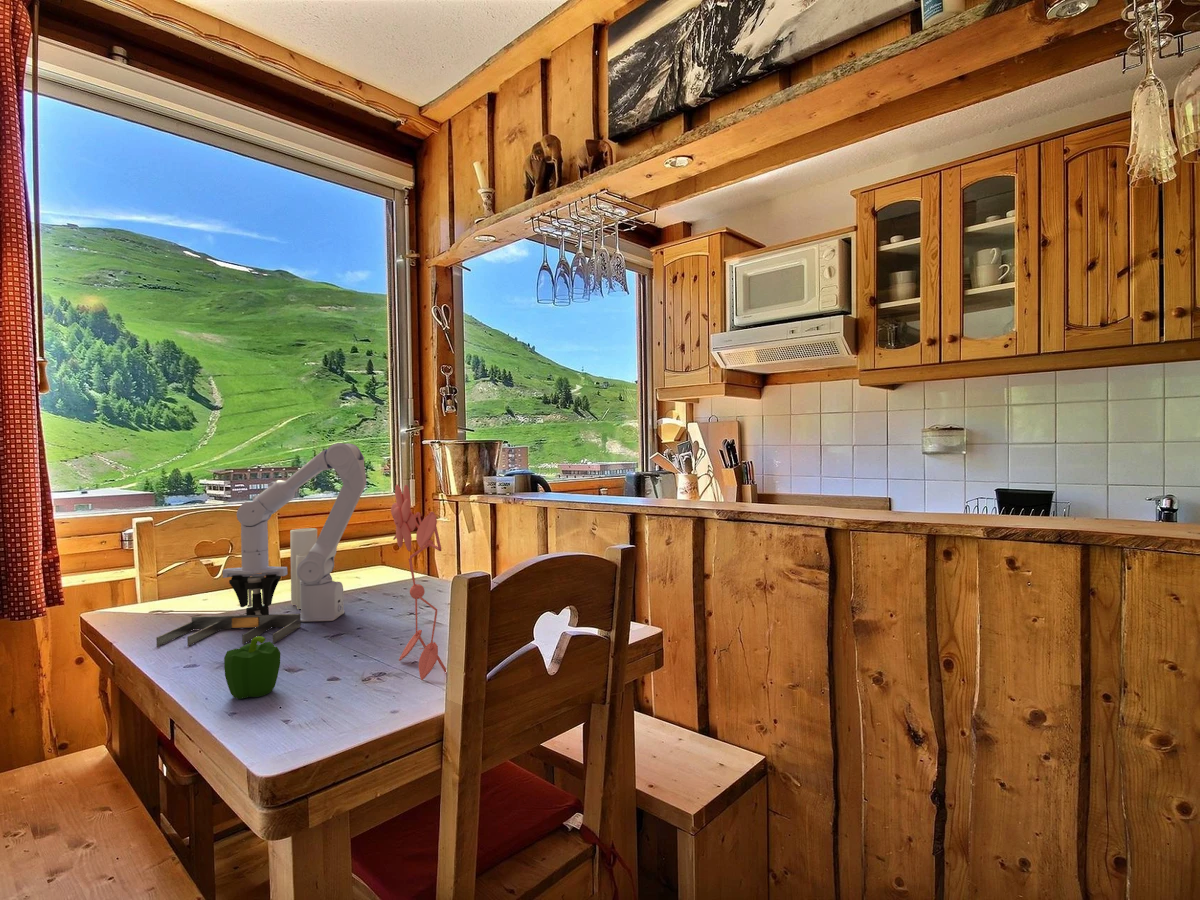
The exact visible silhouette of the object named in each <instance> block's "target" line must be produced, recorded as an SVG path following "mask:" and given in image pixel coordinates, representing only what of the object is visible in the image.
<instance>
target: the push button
mask: <svg viewBox="0 0 1200 900" xmlns="http://www.w3.org/2000/svg"><path fill="white" fill-rule="evenodd" d="M262 578H265V576H250V577H249V578H248V580H247V581H246V582H244V585H245V589H248V605H247V607H246V610H245V612H243V613H239V614H238V615H270V611H269V609H270V608H269V606H267V607H264V592H263V586H262V582H261V579H262Z"/></svg>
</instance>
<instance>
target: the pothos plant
mask: <svg viewBox="0 0 1200 900" xmlns="http://www.w3.org/2000/svg"><path fill="white" fill-rule="evenodd" d="M394 490H395V491H394V496H395V497H394V498H395V502H393V503H392V505H391V507H390V513H391V516H392V519H393V521H394V522H393V523H394V525H395V536H394V537H393V539H392V540H393V541H395V540H396V543H397V546H398V547H399V548H402V547H403V543H404V544H405V545H404V546H405V547H406V550H407V551H408V552H411V550H412V541H413V540H412V538H413V537H412V533H411V532H413V531H415V529H416V528H417V530H416V534H415V535H416V536H415V540H416V542H417V545H418V546H419V549H418V550H416V551H415V552H414V553H412V554H411V555H409V558H408V563H409V568H410V574H411V579H412V583H413V585H412V586H411V587H410V589H409V595H410V597H411V598H412V599H414V603H415V605H414V607H415V608H414V609H415V610H414V611H415V612H414V613H415V633H414V634H413V635H412V637H411V638H410V639H409V641H408V643H407V644H406V646H405V647H404V649H403V651H402V652H401V654H400V657H399V659H398V661H399V662H401V661H402V660H403V659H405V658H406V657H407V656H408V655H409V654H410V653H411V652H412V650H413V648H414V647H415V646H416V644H417V642H418V641H419V642H420V644H421V646H422V648H421V647H420V648H419V650H422V652H421V654H420V657H419V660H418V673H419V676H420V681H424V679H425V678H426V677H428V675H429V674H430V672H431V671H432V670H433V668H434V667H435V665H436V663H437V662H438V663H439V665H440V668H441V669H442V670H443V672H444V673H445V672H446V669H447V668H446V666H445V665H444V663H443V661H442V659H441V658H440V656H439V645H438V644H437V643H436V642H435V641H434V636H435V635H434V634H435V629H436V624H437V616H438V609H437V608H436V607H435V606H433V604H432V603H430V602H429V601H427V600H426V599H425V598H423V596H425V592H426V591H425V588H424V586H423V585H421V584H417V583H416V578H415V573H414V568H413V567H414V566H413V561H412V559H413V558H414V557H415V556H417V555H418V554H420V553H422V551H424V550H425V549H427V548H428V547H431V548H433V549H435V550H437V551H439V552H442V545H441V539H440V536H439V533H438V531H439V530H438V528H437V524H438V519H437V515H436V513H435V512H434V511H430V512H429V513H428V514H427V515H426V516H425V517H424V518H423V519H421V512H419V511H417V512H416V513H415V514H414V513H413V511H412V509H411V507H412V503H411V501H412V500H411V492H410V487H409V486H408V485H407V484H404V486H403V491H402V488H401V487H400V486H399V484H397V483H396V485H395V489H394ZM417 520H418V521H417ZM433 535H435V536H434V537H435V541H436V544H437V545H435V544H434V541H433V540H431V538H432V536H433ZM418 599H420V600H421V601H422V602H424V603H425V604H426V605H427V606H429V607H430V608H432V609H433V610H434V618H433V623H432V630H431V638H430V642H429V643H428V644H426V642H425V641H424V640H423V638H422V636H421V635H422V632H423V631H422V629H418Z"/></svg>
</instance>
